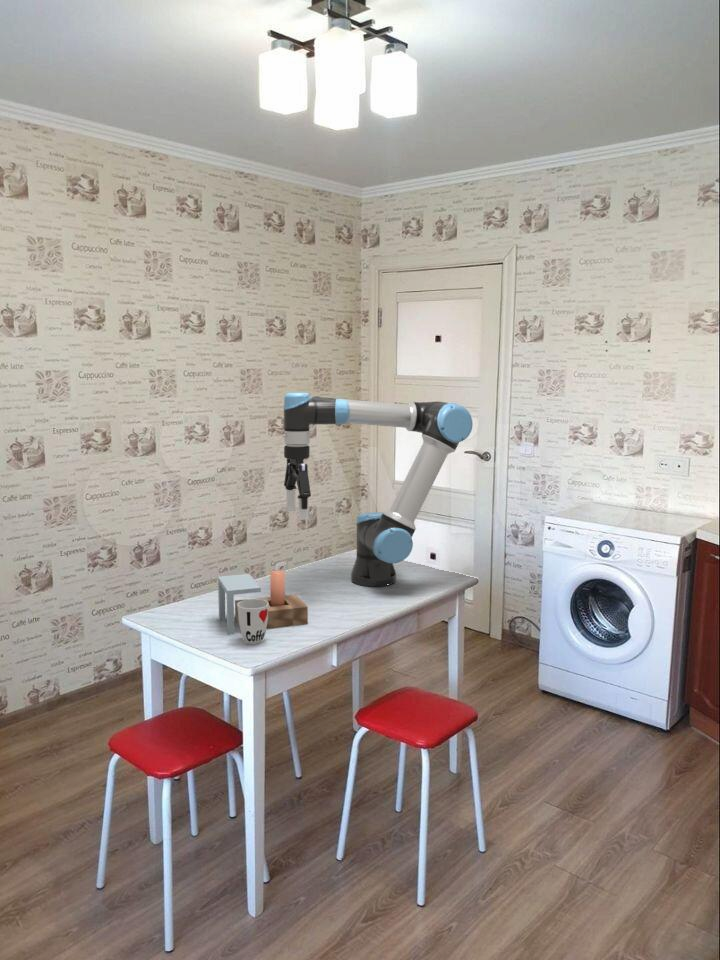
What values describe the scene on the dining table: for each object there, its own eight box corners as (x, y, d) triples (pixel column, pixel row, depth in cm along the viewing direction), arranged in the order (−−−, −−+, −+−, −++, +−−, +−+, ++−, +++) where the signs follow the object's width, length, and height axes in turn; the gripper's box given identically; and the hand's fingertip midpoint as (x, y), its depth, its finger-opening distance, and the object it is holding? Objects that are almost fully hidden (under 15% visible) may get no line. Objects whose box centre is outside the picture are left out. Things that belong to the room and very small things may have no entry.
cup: (242, 647, 194) (241, 610, 192) (234, 637, 201) (233, 600, 200) (272, 643, 197) (272, 606, 196) (264, 632, 205) (263, 597, 203)
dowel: (282, 616, 217) (282, 569, 215) (286, 621, 214) (286, 573, 211) (269, 618, 216) (268, 570, 214) (272, 622, 212) (272, 574, 210)
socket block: (295, 610, 223) (295, 594, 222) (307, 623, 212) (307, 606, 211) (235, 617, 216) (234, 600, 216) (244, 631, 205) (243, 613, 205)
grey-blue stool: (249, 614, 219) (249, 573, 217) (261, 630, 206) (260, 587, 204) (218, 617, 216) (218, 576, 214) (228, 634, 203) (227, 590, 201)
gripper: (274, 440, 235) (274, 507, 238) (296, 450, 212) (296, 524, 215) (297, 440, 237) (297, 506, 241) (321, 449, 214) (321, 522, 218)
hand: (297, 515), depth 228 cm, fingers open, 13 cm apart
